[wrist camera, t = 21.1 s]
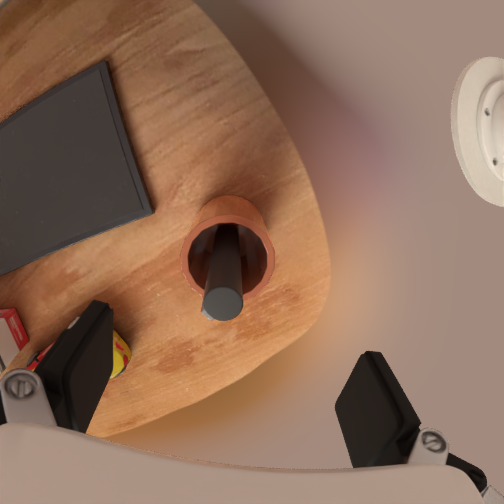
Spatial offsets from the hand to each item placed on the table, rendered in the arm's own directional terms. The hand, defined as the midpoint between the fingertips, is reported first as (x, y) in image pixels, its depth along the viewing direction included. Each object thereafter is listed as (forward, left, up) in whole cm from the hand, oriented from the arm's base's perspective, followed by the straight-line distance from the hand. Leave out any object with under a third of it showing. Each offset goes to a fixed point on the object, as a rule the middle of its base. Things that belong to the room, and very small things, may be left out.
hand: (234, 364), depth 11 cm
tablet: (+9, -18, -19) cm, 28 cm away
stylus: (+1, 0, -18) cm, 18 cm away
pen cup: (0, 0, -19) cm, 19 cm away
